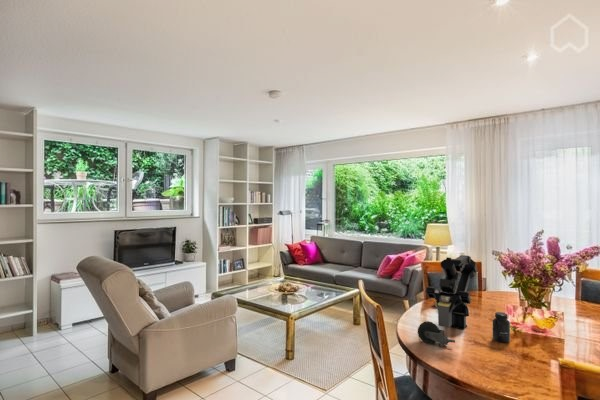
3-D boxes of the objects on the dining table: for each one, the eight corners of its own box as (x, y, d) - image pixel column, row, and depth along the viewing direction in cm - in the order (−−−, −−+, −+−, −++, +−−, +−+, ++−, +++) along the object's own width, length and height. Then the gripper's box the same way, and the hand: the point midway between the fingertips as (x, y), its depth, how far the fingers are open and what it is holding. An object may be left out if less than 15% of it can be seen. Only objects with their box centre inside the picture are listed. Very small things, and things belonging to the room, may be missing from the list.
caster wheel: (417, 345, 156) (454, 349, 148) (415, 323, 156) (451, 325, 149) (420, 340, 161) (456, 344, 153) (418, 319, 161) (453, 321, 153)
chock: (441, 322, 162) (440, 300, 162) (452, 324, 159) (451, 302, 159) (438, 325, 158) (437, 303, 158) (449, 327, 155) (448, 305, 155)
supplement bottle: (503, 344, 153) (503, 317, 153) (489, 339, 159) (488, 312, 159) (513, 341, 156) (513, 314, 156) (498, 336, 162) (498, 310, 162)
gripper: (426, 269, 167) (418, 298, 159) (468, 274, 156) (462, 305, 147) (432, 282, 174) (424, 311, 165) (473, 288, 162) (467, 318, 153)
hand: (443, 311), depth 157 cm, fingers closed on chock, 4 cm apart
